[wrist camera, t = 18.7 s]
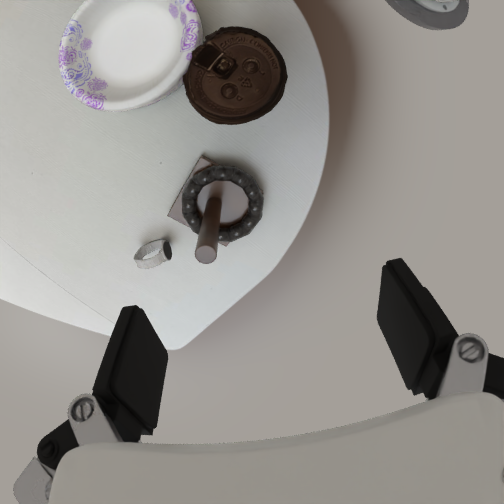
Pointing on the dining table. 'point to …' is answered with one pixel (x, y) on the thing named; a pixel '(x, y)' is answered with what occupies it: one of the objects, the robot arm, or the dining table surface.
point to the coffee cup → (235, 76)
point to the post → (213, 211)
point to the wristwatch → (158, 258)
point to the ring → (235, 177)
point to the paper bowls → (128, 51)
